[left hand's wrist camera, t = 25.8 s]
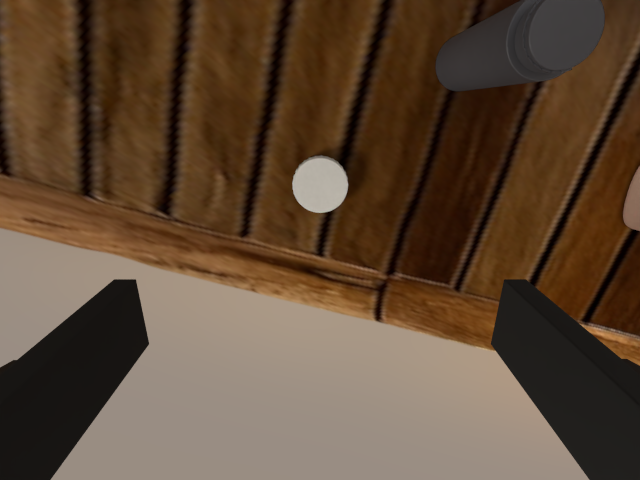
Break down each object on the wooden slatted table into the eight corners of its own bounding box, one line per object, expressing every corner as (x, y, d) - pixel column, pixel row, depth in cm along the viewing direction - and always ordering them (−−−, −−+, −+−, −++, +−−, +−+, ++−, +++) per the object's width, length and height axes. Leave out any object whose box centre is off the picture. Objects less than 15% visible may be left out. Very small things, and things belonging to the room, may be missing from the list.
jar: (431, 43, 32) (517, -8, 18) (484, 26, 32) (614, -39, 18) (439, 97, 34) (524, 90, 20) (490, 82, 34) (613, 63, 20)
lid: (319, 219, 38) (319, 224, 37) (281, 182, 37) (280, 185, 35) (358, 183, 37) (360, 186, 35) (320, 143, 36) (320, 144, 34)
